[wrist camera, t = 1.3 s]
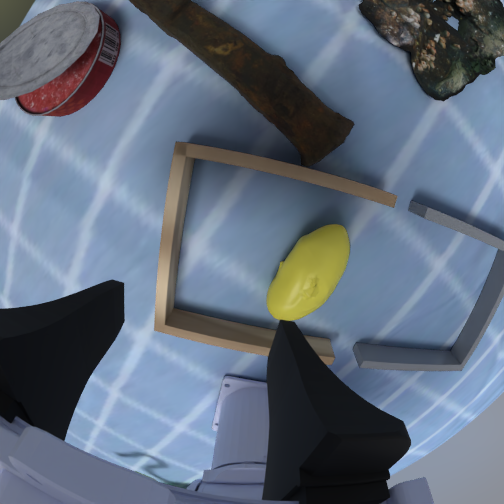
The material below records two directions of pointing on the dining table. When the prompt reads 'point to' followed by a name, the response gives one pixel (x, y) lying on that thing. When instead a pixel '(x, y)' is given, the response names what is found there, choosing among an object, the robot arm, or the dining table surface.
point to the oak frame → (171, 236)
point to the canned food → (59, 59)
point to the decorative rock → (442, 38)
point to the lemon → (309, 273)
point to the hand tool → (254, 76)
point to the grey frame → (497, 285)
